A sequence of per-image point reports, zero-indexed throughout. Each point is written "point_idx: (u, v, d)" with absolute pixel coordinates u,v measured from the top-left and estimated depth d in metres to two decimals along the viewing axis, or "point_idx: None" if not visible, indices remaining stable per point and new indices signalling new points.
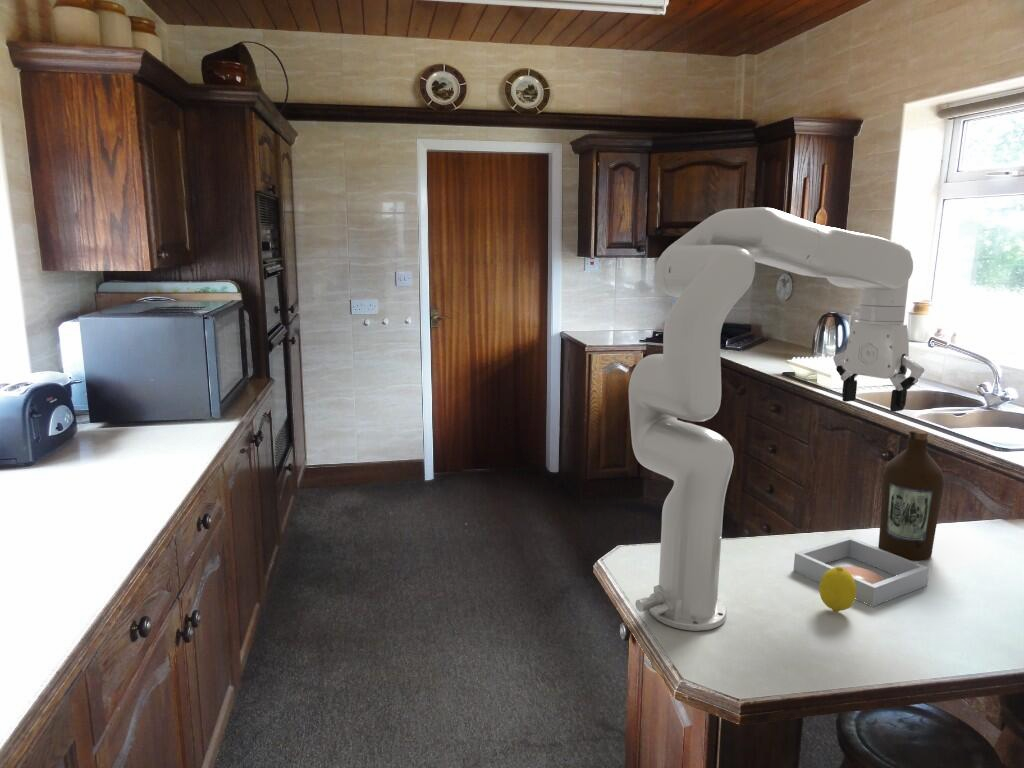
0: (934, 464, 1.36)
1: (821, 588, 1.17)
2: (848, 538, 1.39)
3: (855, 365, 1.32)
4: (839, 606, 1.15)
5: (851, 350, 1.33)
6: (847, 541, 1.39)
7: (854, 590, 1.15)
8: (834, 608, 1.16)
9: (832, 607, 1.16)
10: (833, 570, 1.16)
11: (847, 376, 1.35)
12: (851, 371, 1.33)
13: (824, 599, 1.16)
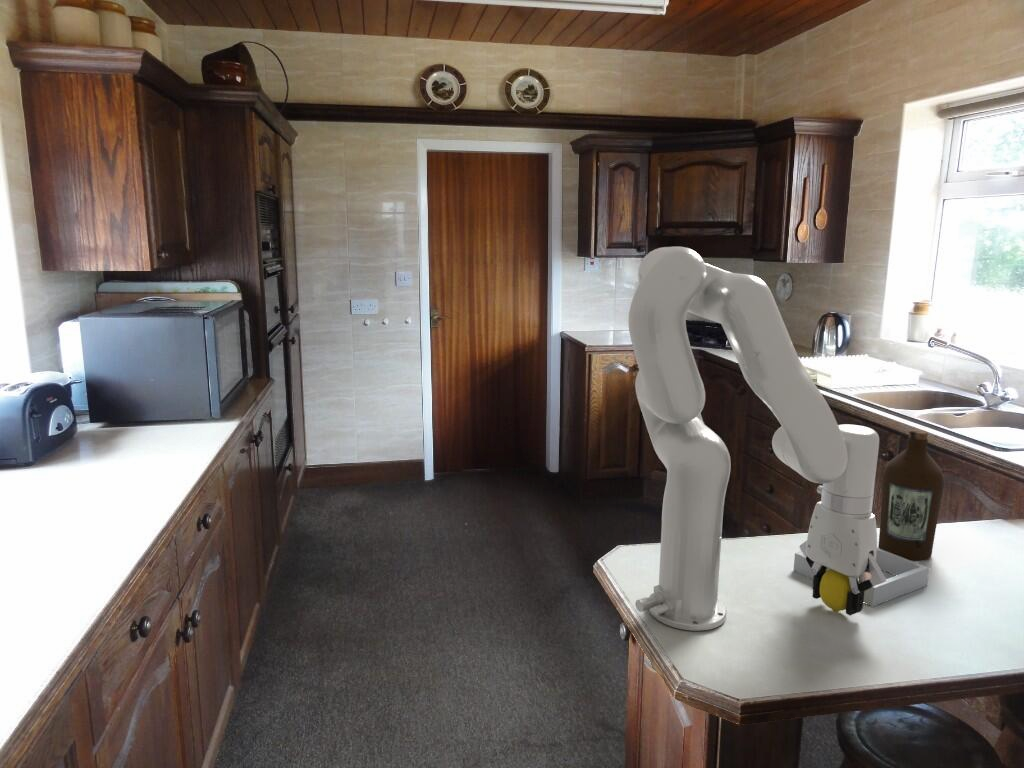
0: (934, 464, 1.36)
1: (821, 588, 1.17)
2: None
3: (817, 554, 1.16)
4: (839, 605, 1.15)
5: (814, 536, 1.17)
6: None
7: None
8: (834, 608, 1.16)
9: (832, 607, 1.16)
10: (833, 570, 1.16)
11: (818, 571, 1.18)
12: (813, 560, 1.17)
13: (824, 599, 1.16)
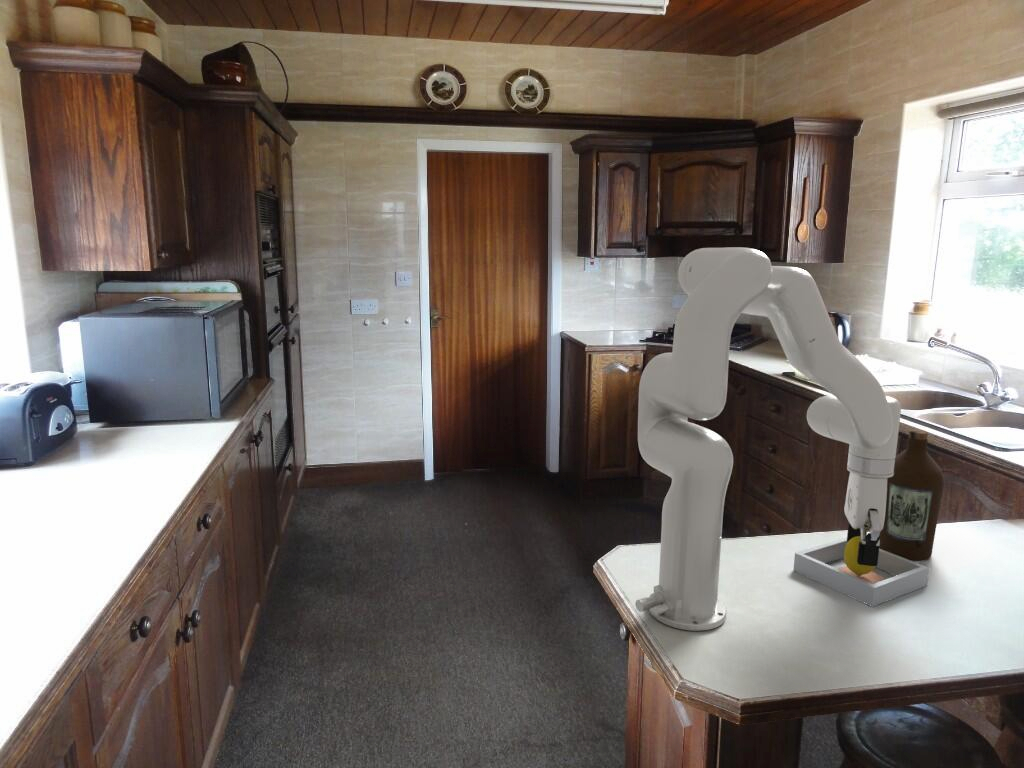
0: (934, 464, 1.36)
1: (845, 550, 1.31)
2: None
3: (846, 508, 1.31)
4: (851, 567, 1.28)
5: (847, 492, 1.31)
6: None
7: None
8: None
9: None
10: (856, 536, 1.29)
11: None
12: (845, 513, 1.32)
13: (844, 559, 1.30)
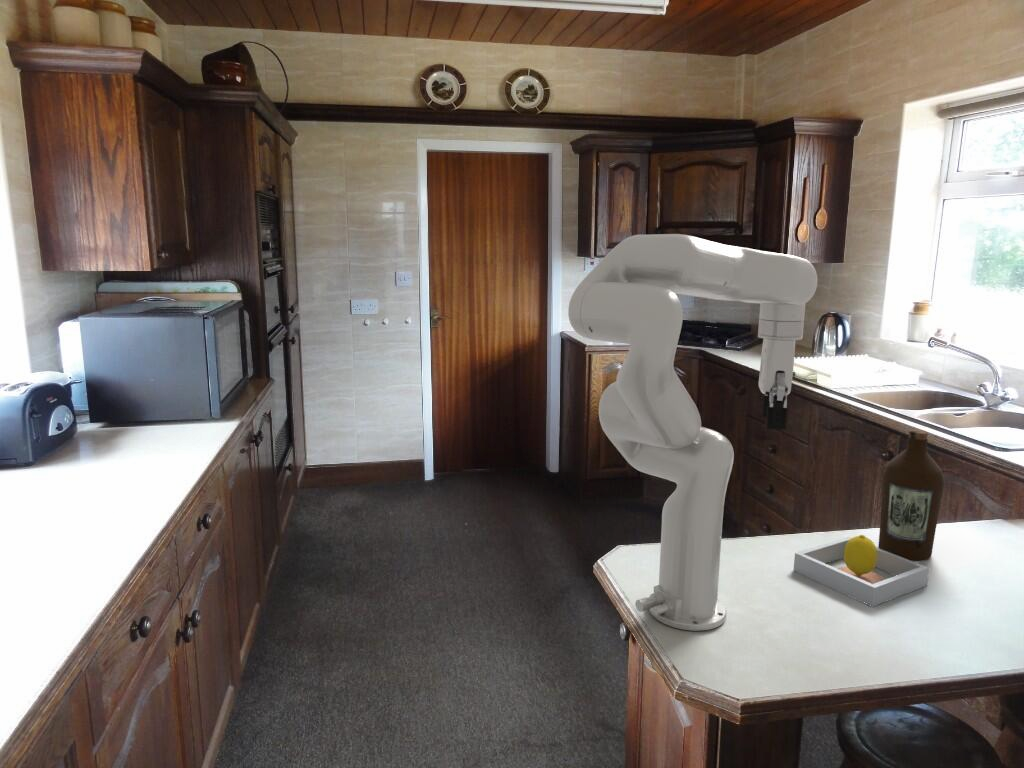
0: (934, 464, 1.36)
1: None
2: (848, 538, 1.39)
3: (759, 379, 1.31)
4: (850, 566, 1.28)
5: None
6: (847, 541, 1.39)
7: (866, 557, 1.26)
8: (849, 568, 1.29)
9: None
10: (856, 536, 1.29)
11: None
12: None
13: (844, 559, 1.31)
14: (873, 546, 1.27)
